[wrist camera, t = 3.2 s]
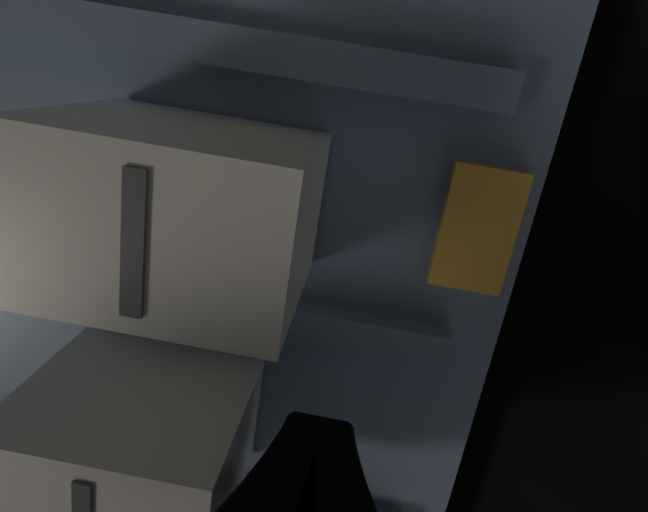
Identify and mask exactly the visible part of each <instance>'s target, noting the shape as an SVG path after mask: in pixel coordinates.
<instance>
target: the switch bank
mask: <svg viewBox="0 0 648 512" xmlns="http://www.w3.org/2000/svg"><path fill="white" fill-rule="evenodd" d="M598 3H599V0H0V111H8V110H17V109H26V108H35V107H45V106H54V105H63V104H72V103H82V102H91V101H100V100H109V99H119V98H123V99H129V100H135V101H141V102H147V103H153V104H159V105H165V106H171V107H177V108H183V109H189V110H195V111H201V112H206V113H212V114H218V115H224V116H230V117H236V118H242V119H248V120H254V121H260V122H266V123H272V124H278V125H284V126H290V127H295V128H301V129H307V130H313V131H319V132H325V133H331V134H332V137H331V143H330V150H329V156H328V162H327V169H326V175H325V182H324V188H323V195H322V201H321V208H320V214H319V221H318V227H317V233H316V240H315V246H314V253H313V259H312V265H311V268H310V270H309V273H308V276H307V279H306V282H305V285H304V287H303V290H302V293H301V296H300V299H299V301H298V304H297V307H296V310H295V313H294V316H293V318H292V321H291V324H290V327H289V330H288V333H287V335H286V338H285V341H284V344H283V347H282V349H281V352H280V355H279V358H278V361H277V362H273V361H267V360H264V368H263V376H262V383H261V391H260V399H259V406H258V414H257V422H256V429H255V437H254V445H253V452H252V458H251V461H250V464H249V467H248V470H247V473H246V476H247V475H248V473H249V472H250V471H251V470H252V468H253V467H254V466H255V464H256V463H257V462H258V461H259V459H260V458H261V457H262V455H263V454H264V453H265V451H266V450H267V449H268V447H269V446H270V444H271V443H272V441H273V440H274V439H275V437H276V435H277V434H278V432H279V431H280V429H281V427H282V425H283V424H284V422H285V420H286V418H287V415H288V414H290V413H291V412H293V411H297V412H302V413H307V414H313V415H318V416H323V417H328V418H333V419H338V420H343V421H348V422H350V423H351V425H352V426H353V427H354V435H355V441H356V446H357V450H358V454H359V458H360V462H361V465H362V469H363V472H364V475H365V479H366V482H367V485H368V488H369V490H370V493H371V496H372V499H373V502H374V505H375V507H376V510H377V512H445V511H446V508H447V504H448V501H449V498H450V494H451V491H452V488H453V484H454V481H455V478H456V474H457V471H458V468H459V464H460V461H461V458H462V455H463V451H464V448H465V445H466V441H467V438H468V435H469V431H470V428H471V425H472V421H473V418H474V415H475V411H476V408H477V405H478V401H479V398H480V395H481V391H482V388H483V385H484V381H485V378H486V375H487V371H488V368H489V365H490V361H491V358H492V355H493V352H494V348H495V345H496V342H497V338H498V335H499V332H500V328H501V325H502V322H503V318H504V315H505V312H506V308H507V305H508V302H509V298H510V295H511V292H512V288H513V285H514V282H515V278H516V275H517V272H518V268H519V265H520V262H521V258H522V255H523V252H524V249H525V245H526V242H527V239H528V235H529V232H530V229H531V225H532V222H533V219H534V215H535V212H536V209H537V205H538V202H539V199H540V195H541V192H542V189H543V185H544V182H545V179H546V175H547V172H548V169H549V165H550V162H551V159H552V155H553V152H554V149H555V146H556V142H557V139H558V136H559V132H560V129H561V126H562V122H563V119H564V116H565V112H566V109H567V106H568V102H569V99H570V96H571V92H572V89H573V86H574V82H575V79H576V76H577V72H578V69H579V66H580V62H581V59H582V56H583V52H584V49H585V46H586V43H587V39H588V36H589V33H590V29H591V26H592V23H593V19H594V16H595V13H596V9H597V6H598ZM86 327H87V326H81V325H76V324H71V323H66V322H60V321H55V320H50V319H44V318H39V317H34V316H28V315H23V314H18V313H12V312H7V311H2V310H0V402H1V401H3V400H4V399H5V398H6V397H7V396H8V395H9V394H11V393H12V392H13V391H14V390H15V389H16V388H17V387H19V386H20V385H21V384H22V383H23V382H24V381H25V380H27V379H28V378H29V377H30V376H31V375H32V374H33V373H35V372H36V371H37V370H38V369H39V368H40V367H41V366H43V365H44V364H45V363H46V362H47V361H48V360H49V359H51V358H52V357H53V356H54V355H55V354H56V353H57V352H59V351H60V350H61V349H62V348H63V347H64V346H65V345H67V344H68V343H69V342H70V341H71V340H72V339H73V338H75V337H76V336H77V335H78V334H79V333H80V332H81V331H83V330H84V329H85V328H86ZM89 328H92V327H89ZM94 329H97V328H94ZM100 330H103V329H100ZM105 331H108V330H105ZM110 332H113V331H110ZM116 333H119V332H116ZM121 334H124V333H121ZM126 335H129V334H126ZM132 336H135V335H132ZM137 337H140V336H137ZM142 338H145V337H142ZM148 339H150V338H148ZM153 340H156V339H153ZM158 341H161V340H158ZM163 342H166V341H163ZM169 343H172V342H169ZM174 344H177V343H174ZM179 345H182V344H179ZM185 346H188V345H185ZM190 347H193V346H190ZM195 348H198V347H195ZM201 349H204V348H201ZM206 350H209V349H206ZM211 351H214V350H211ZM217 352H219V351H217ZM222 353H225V352H222ZM227 354H230V353H227ZM232 355H235V354H232ZM238 356H241V355H238ZM243 357H246V356H243ZM248 358H251V357H248ZM254 359H257V358H254ZM259 360H262V359H259ZM246 476H245V477H246Z"/></svg>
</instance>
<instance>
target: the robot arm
mask: <svg viewBox="0 0 648 512" xmlns="http://www.w3.org/2000/svg"><path fill="white" fill-rule="evenodd" d="M215 512H377V510H376V507H375V505H374V502H373V499H372V496H371V493H370V490H369V488H368V485H367V482H366V479H365V475H364V472H363V469H362V465H361V462H360V458H359V454H358V450H357V446H356V441H355V435H354V427H353V426H352V425H351V423H350V422H348V421H343V420H338V419H333V418H328V417H323V416H318V415H313V414H307V413H302V412H297V411H293V412H291V413H290V414H288V415H287V418H286V420H285V422H284V424H283V425H282V427H281V429H280V431H279V432H278V434H277V435H276V437H275V439H274V440H273V441H272V443H271V444H270V446H269V447H268V449H267V450H266V451H265V453H264V454H263V455H262V457H261V458H260V459H259V461H258V462H257V463H256V464H255V466H254V467H253V468H252V470H251V471H250V472H249V473H248V475H247V476H246V477H245V478H244V479H243V481H242V482H241V483H240V484H239V485H238V486H237V487H236V489H235V490H234V491H233V492H232V493H231V494H230V495H229V496H228V497H227V499H226V500H225V501H224V502H223V503H222V504H221V505H220V506H219V507H218V508H217V509H216V511H215Z"/></svg>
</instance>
